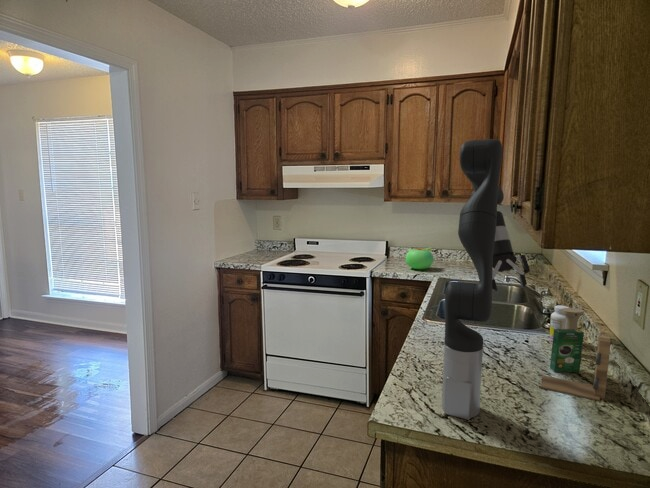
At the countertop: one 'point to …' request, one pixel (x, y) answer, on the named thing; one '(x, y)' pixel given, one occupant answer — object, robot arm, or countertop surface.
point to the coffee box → (566, 350)
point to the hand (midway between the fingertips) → (509, 289)
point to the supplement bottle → (557, 320)
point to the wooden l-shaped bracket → (580, 388)
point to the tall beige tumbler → (572, 317)
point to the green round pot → (419, 258)
